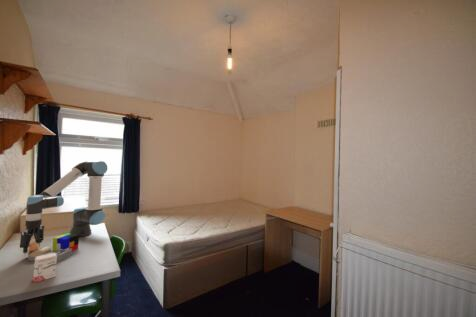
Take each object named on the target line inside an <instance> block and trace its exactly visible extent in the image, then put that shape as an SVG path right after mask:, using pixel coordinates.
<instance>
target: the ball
mask: <svg viewBox="0 0 476 317" xmlns="http://www.w3.org/2000/svg"><path fill="white" fill-rule="evenodd" d="M28 247H30V249H29V252H34V251H35V250H37V248H38V244H37V243H36V241H33V242H30V243H29V246H28Z"/></svg>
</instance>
